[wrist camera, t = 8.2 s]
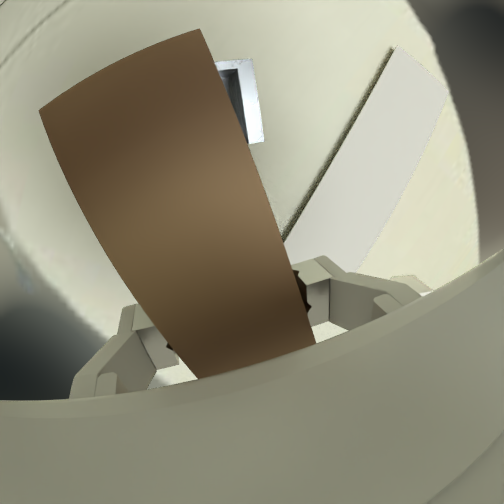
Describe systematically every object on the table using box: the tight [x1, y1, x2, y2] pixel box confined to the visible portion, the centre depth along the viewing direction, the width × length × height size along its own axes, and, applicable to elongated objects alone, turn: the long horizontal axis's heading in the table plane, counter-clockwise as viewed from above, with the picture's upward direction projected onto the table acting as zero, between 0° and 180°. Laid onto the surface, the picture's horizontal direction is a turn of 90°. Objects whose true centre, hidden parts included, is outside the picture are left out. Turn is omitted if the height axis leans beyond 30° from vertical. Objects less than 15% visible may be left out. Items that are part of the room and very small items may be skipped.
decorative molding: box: [284, 45, 449, 273], centre depth 32 cm, size 34×5×10 cm
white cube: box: [390, 275, 434, 296], centre depth 41 cm, size 6×6×6 cm
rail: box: [39, 29, 316, 379], centre depth 10 cm, size 16×4×4 cm, turn 21°
